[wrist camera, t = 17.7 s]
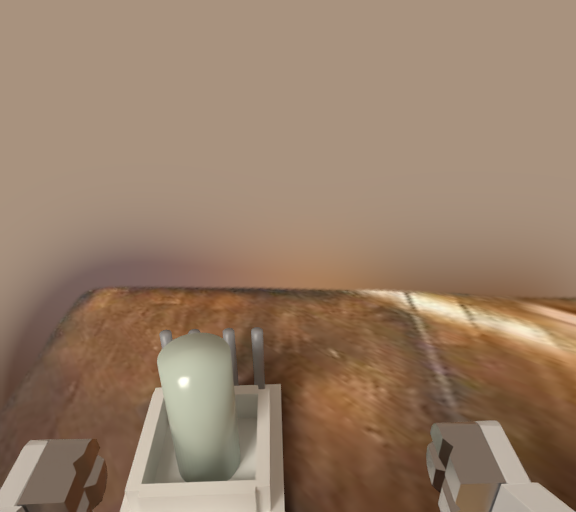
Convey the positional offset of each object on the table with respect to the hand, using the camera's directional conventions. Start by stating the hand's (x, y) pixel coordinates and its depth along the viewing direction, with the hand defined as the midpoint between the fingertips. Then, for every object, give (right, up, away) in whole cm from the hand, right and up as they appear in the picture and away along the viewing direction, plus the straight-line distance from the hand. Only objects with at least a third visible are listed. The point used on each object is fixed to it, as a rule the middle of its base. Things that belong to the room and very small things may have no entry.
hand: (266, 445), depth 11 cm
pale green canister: (-6, -12, +26) cm, 29 cm away
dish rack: (-6, -13, +26) cm, 30 cm away
